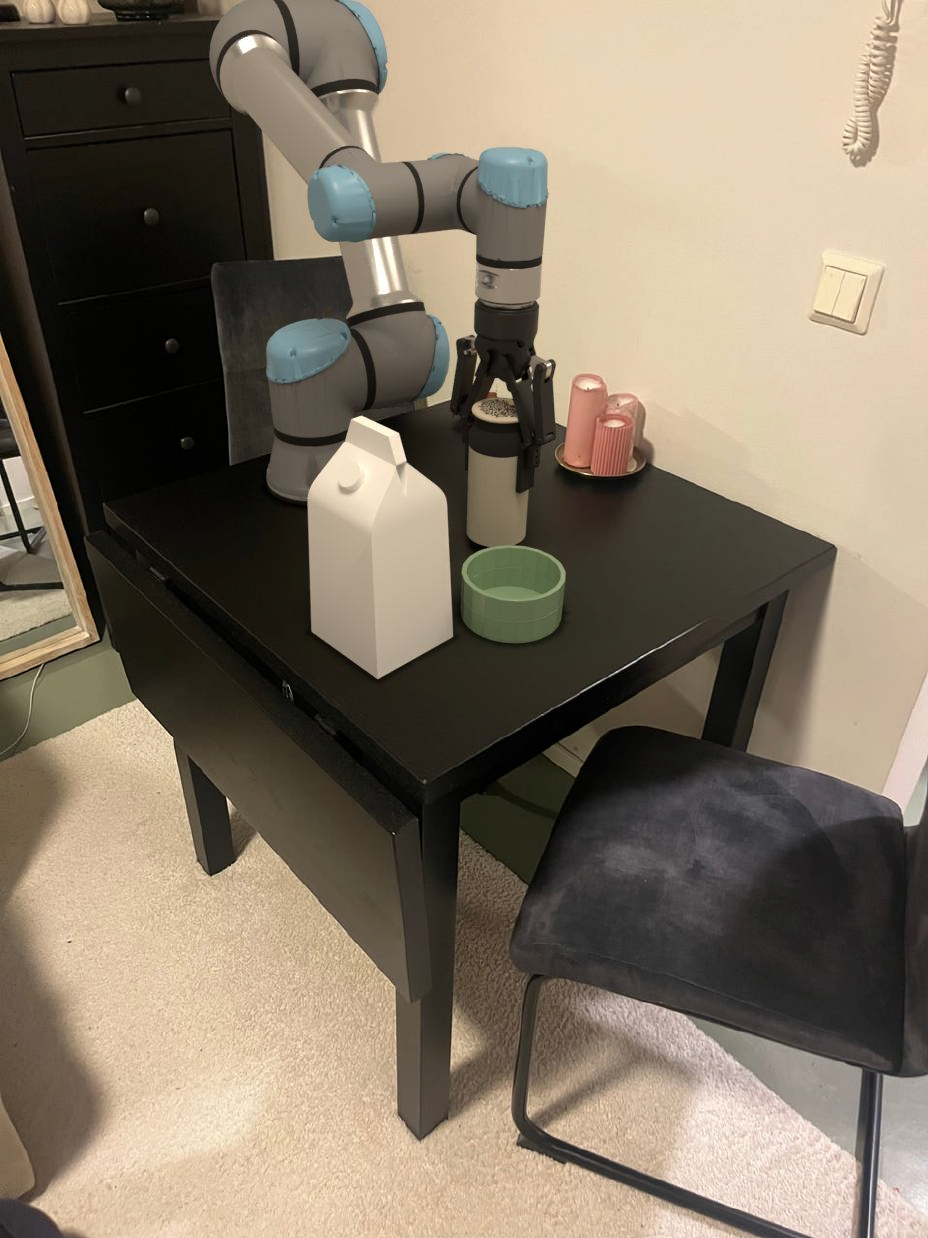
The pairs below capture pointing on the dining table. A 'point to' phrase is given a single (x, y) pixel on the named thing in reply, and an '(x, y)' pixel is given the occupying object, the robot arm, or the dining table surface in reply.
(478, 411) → the travel mug
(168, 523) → the dining table surface
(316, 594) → the milk
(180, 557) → the dining table surface
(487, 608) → the pot
